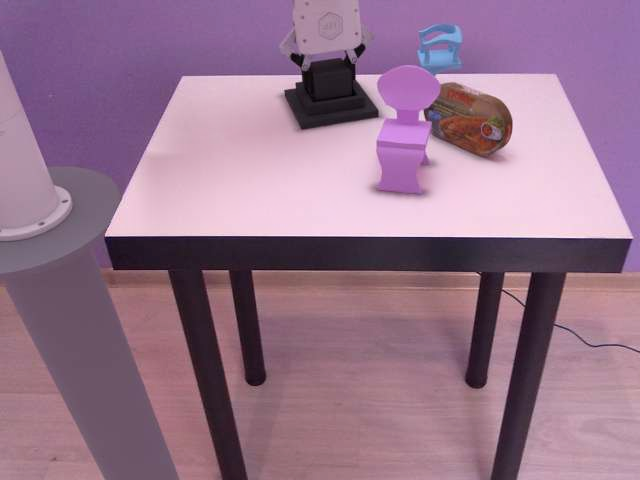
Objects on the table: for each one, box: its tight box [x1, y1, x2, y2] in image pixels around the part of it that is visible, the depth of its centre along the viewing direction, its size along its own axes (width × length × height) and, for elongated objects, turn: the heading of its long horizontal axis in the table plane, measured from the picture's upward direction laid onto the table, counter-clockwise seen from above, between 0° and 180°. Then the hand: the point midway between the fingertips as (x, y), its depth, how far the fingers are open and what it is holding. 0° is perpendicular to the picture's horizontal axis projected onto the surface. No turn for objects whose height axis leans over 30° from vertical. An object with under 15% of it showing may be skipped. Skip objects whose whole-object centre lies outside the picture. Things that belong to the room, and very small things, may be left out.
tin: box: [422, 81, 514, 157], centre depth 91 cm, size 15×3×8 cm, turn 42°
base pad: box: [283, 79, 380, 130], centre depth 104 cm, size 13×13×3 cm
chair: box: [416, 23, 463, 85], centre depth 103 cm, size 8×8×12 cm
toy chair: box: [375, 64, 441, 195], centre depth 82 cm, size 8×9×15 cm
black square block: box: [310, 57, 352, 100], centre depth 102 cm, size 6×6×4 cm
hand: (329, 86), depth 103 cm, fingers closed on black square block, 6 cm apart
